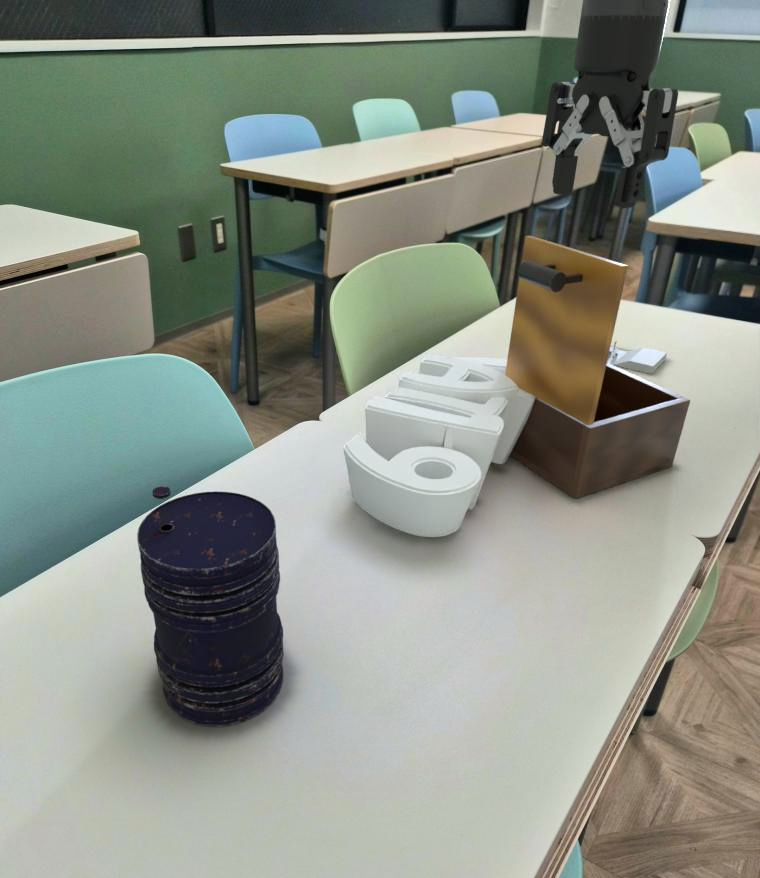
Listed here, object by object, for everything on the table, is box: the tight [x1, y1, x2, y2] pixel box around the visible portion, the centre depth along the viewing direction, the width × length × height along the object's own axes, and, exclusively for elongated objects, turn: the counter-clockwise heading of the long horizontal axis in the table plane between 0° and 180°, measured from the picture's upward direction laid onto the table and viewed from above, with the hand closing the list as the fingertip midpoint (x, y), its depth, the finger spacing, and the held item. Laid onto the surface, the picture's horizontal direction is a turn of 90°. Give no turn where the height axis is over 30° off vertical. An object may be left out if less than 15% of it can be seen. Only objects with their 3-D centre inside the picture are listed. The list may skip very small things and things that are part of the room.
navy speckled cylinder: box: [136, 485, 285, 728], centre depth 55 cm, size 10×10×18 cm
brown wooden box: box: [509, 363, 691, 500], centre depth 90 cm, size 16×14×9 cm
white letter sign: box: [342, 353, 537, 538], centre depth 84 cm, size 35×16×11 cm, turn 149°
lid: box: [505, 235, 629, 425], centre depth 78 cm, size 17×14×5 cm
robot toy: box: [607, 340, 668, 375], centre depth 120 cm, size 7×12×2 cm, turn 54°
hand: (591, 200), depth 75 cm, fingers open, 8 cm apart
